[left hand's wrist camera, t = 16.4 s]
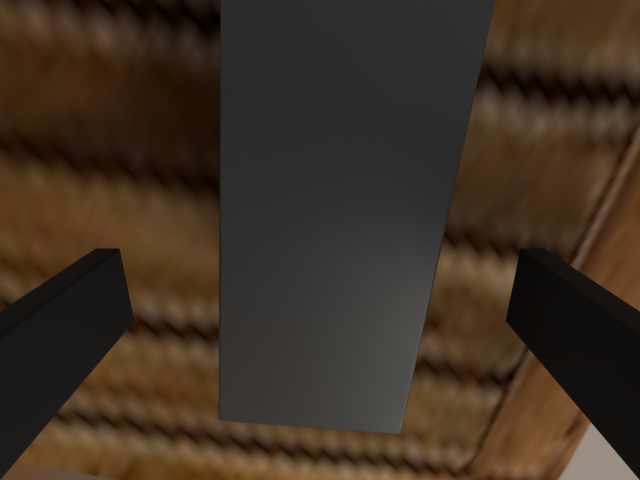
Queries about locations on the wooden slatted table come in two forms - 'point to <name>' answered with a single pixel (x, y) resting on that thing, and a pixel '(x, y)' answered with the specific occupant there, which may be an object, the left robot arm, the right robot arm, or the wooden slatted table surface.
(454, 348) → the wooden slatted table surface
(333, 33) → the bar
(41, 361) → the left robot arm
